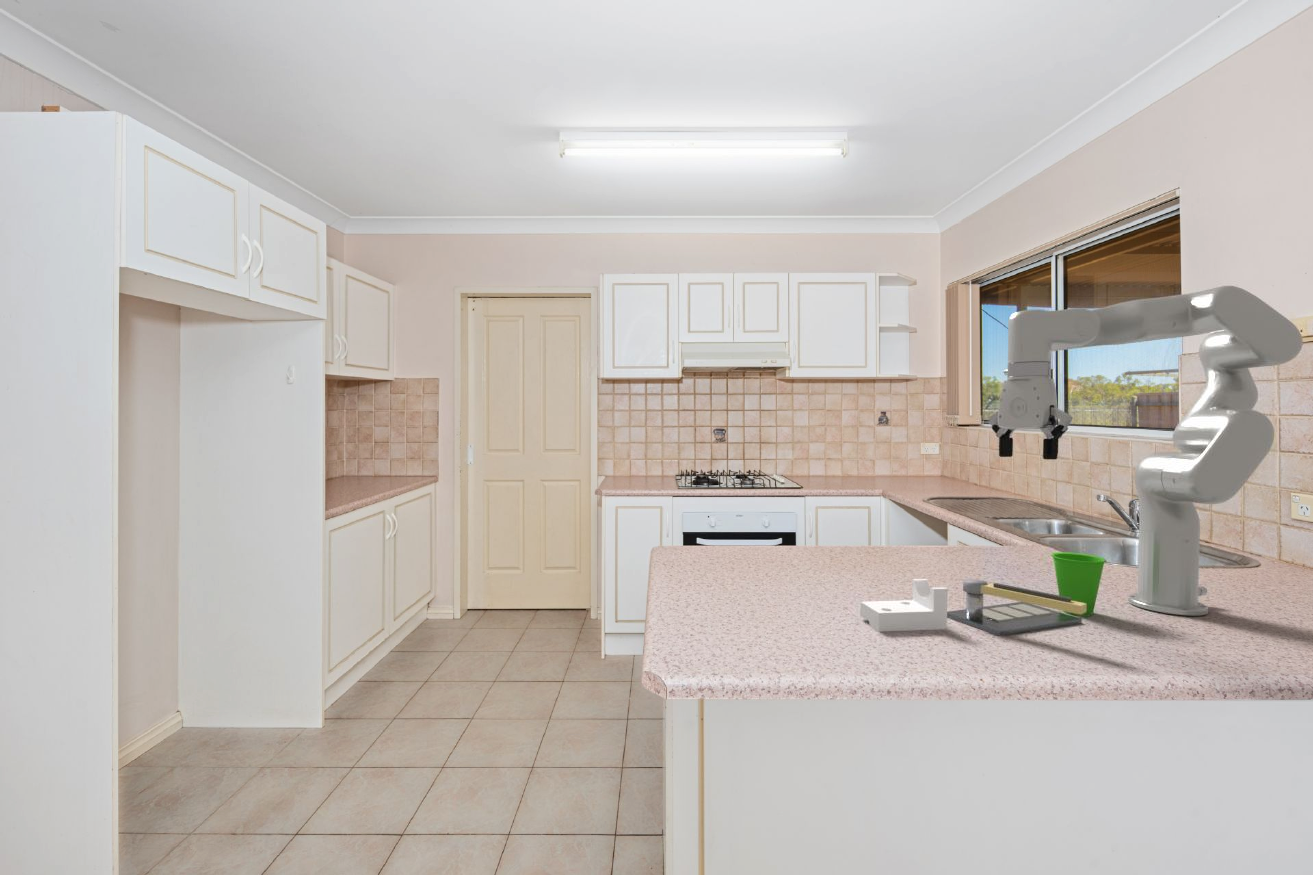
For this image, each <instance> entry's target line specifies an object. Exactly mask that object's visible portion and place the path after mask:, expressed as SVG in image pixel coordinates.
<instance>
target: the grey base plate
mask: <svg viewBox="0 0 1313 875" xmlns="http://www.w3.org/2000/svg"><path fill="white" fill-rule="evenodd" d="M965 593H966V601H965V604H966V605H965V606H966V607H965V608H964V609H959V610H958V609H957V610H950V611H949V610H947V619H948V618H949V619H952V620H954V621H957V622H960V623H962V624H966V625H969V626H970V627H974V628H977V629H979V630H982V631H985V632H987V633H990V634H992V635H996V636H998V637H999V636H1000V637H1002V636H1008V635H1009V636H1010V635H1015V634H1021V633H1027V632H1033V631H1034V632H1035V631H1039V630H1041V631H1042V630H1046V629H1052V628H1053V629H1054V628H1059V627H1065V626H1071V625H1078V624H1082V620H1083V619H1082V618H1081V617H1077V616H1075V615H1071V614H1068V613H1065V612H1060V611H1056V610H1054V609H1051V608H1048V607H1043V606H1039V605H1034V604H1029V603H1025V602H1020V601H1016V602H1011V603H1004V604H1003V603H1002V604H995V605H987V606H984V594H973V593H968V592H965Z"/></svg>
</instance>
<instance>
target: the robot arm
mask: <svg viewBox="0 0 1313 875" xmlns="http://www.w3.org/2000/svg"><path fill="white" fill-rule="evenodd" d="M1007 325H1008V326H1007V327H1008V330H1007V331H1008V332H1007V333H1008V334H1007V335H1008V336H1007V368H1005V369H1004V370H1003V374H1004V376H1006V377H1007V380H1003V383H1002V385H1001V388H1000V389H1001V390H1000V394H999V400H998V401H999V402H998V411H996V412H995V413H993V414H992V415H989V417H988V421H989V423H990V426H991V429H992V431H993V432H994V433H995V436H996V438H998V456H999V457H1000V458H1010V457H1011V458H1012V457H1013V455H1014V449H1013V448H1014V446H1013V445H1014V438H1013V437H1011V436H1012V434H1013V433H1015V431H1016V430H1018V429H1020V430H1021V429H1022V430H1027V429H1029V430H1040V431H1041V432H1042V433H1043V434H1044V436H1045V437H1046V438H1043V439H1042V441H1043V442H1042V446H1043V447H1042V459H1044V460H1047V461H1049V460H1057V459H1058V455H1059V440H1060V439H1062V438H1063V435H1064V434H1065V433H1066V432H1067V431H1068V430H1069V428H1068V427H1069V426H1070V425H1071V422H1072V420H1073V416H1072V415H1071V414H1069V413H1067V412H1065V411H1063V410H1061V409H1059V408H1058V399H1057V398H1058V397H1057V394H1058V393H1057V389H1056V385H1055V384H1056V383H1055V381H1054V380H1055V379H1054V378H1052V352H1057V351H1064V350H1065V351H1066V350H1073V349H1082V348H1090V347H1100V346H1115V345H1116V346H1118V345H1125V344H1126V345H1127V344H1128V345H1129V344H1134V343H1144V342H1149V341H1150V342H1151V341H1157V340H1166V339H1168V340H1169V339H1176V338H1184V337H1185V338H1186V337H1192V336H1193V337H1194V336H1199V335H1204V334H1208V335H1207V336H1206V337H1204V338H1203V339H1202V341H1201V343H1200V345H1199V349H1198V357H1199V360H1200V363H1201V365H1202V368H1203V371H1204V376H1205V386H1204V388H1203V390H1202V391H1201V393H1200V395H1199V397H1197V399H1195V401H1194V403H1193V404H1192V405H1191V407H1190V408H1189V409H1188V410H1187V412H1186V413H1185V415H1183V416H1182V418H1181V419H1180V421H1179V422H1178V424H1177V425H1176V427H1175V429H1174V431H1173V433H1172V442H1173V445H1174V446H1175V448H1177V449H1178V450H1179V451H1181V452H1178V451H1177V452H1176V451H1160V452H1154V453H1151V454H1148V455H1146V456H1144V457H1143V458H1141V460H1139V461H1138V462H1137V464H1136V467H1135V470H1134V485H1135V489H1136V493H1137V499H1138V508H1139V510H1138V511H1139V520H1138V522H1139V528H1138V560H1137V561H1138V563H1137V565H1138V566H1137V567H1138V568H1137V593H1132V594H1131V593H1130V594H1129V595H1128V597H1127V598H1128V599H1127V601H1128V603H1130V604H1131V605H1132V606H1135V607H1138V608H1141V609H1144V610H1149V611H1153V612H1157V613H1162V614H1170V615H1177V616H1178V615H1179V616H1190V617H1191V616H1193V617H1195V616H1204V615H1207V614H1208V613H1209V607H1208V606H1207V605H1206V604H1204V603H1202V602H1199V597H1201V596H1206V595H1207V594H1208V590H1207V588H1206V587H1205V586H1203V585H1199V576H1200V575H1199V574H1200V570H1199V569H1200V539H1201V538H1200V535H1201V523H1200V517H1199V513H1198V511H1197V509H1196V507H1195V504H1203V505H1217V504H1219V505H1220V504H1222V503H1225V502H1228V501H1229V500H1230V499H1232V498H1233V497H1235V495H1237V494H1238V492H1240V490H1241V489H1242V488H1243V486H1244V485H1245V484H1246V483H1247V482H1248V480H1249V479H1250V478H1251V476H1252V475H1253V473H1255V471H1256V469H1258V467H1259V466H1260V465H1261V463H1263V460H1264V459H1265V458H1266V456H1267V455H1268V454H1269V452H1270V450H1271V449H1272V447H1273V443H1274V439H1275V428H1274V425H1273V423H1272V421H1271V419H1270V418H1268V416H1267V415H1266V414H1264V413H1263V412H1260V411H1257V410H1254V407H1255V406H1256V404H1257V403H1258V399H1259V391H1258V387H1257V384H1256V382H1255V381H1254V379H1253V376H1252V374H1251V371H1250V369H1251V368H1260V367H1261V368H1263V367H1272V366H1273V367H1274V366H1280V365H1284V364H1287V363H1288V362H1291V361H1292V360H1294V359H1295V358H1296V357H1297V356H1298V355H1299V354H1300V353H1301V350H1302V348H1303V337H1302V334H1301V331H1300V330H1299V329H1298V327H1297V326H1296V324H1294V323H1293V322H1292V321H1291V320H1289V319H1288V318H1287V317H1286V316H1284V315H1283V314H1282V313H1280V312H1279V311H1278V310H1275V309H1274V308H1273V307H1272V306H1270V305H1269V304H1268V303H1266V302H1265V301H1264V300H1263V299H1261V298H1259V297H1258V296H1256V295H1255V294H1253V293H1251V292H1250V291H1247V290H1246V289H1243V288H1241V287H1238V286H1235V285H1222V286H1217V287H1212V288H1209V289H1205V290H1201V291H1196V292H1192V293H1185V294H1177V295H1168V296H1160V297H1151V298H1150V297H1148V298H1141V299H1133V300H1129V301H1123V302H1119V303H1115V304H1112V305H1108V306H1104V307H1101V308H1096V309H1092V310H1090V309H1087V308H1082V307H1079V308H1078V307H1075V308H1067V309H1060V310H1058V309H1057V310H1045V309H1025V310H1019V311H1017V312H1013V313H1012V314H1011V315H1010V316H1009V319H1008V324H1007ZM1209 333H1210V334H1209ZM1058 419H1059V422H1058ZM1194 503H1195V504H1194Z"/></svg>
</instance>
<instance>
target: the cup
mask: <svg viewBox="0 0 1313 875" xmlns="http://www.w3.org/2000/svg"><path fill="white" fill-rule="evenodd" d="M1050 556H1051V557H1052V558H1053V566H1054V571H1055V577H1056V585H1057V591H1058V595H1059V596H1064V597H1069V598H1071V600H1072V601H1077V602H1081V603H1086V604H1087V608H1086V612H1085V613H1083V614H1081V615H1080V614H1076V613H1071V612H1067V611H1062V613H1064V614H1067V615H1071V616H1081V617H1089V616H1092V615H1093V613H1094V610H1095V606H1096V602H1097V596H1098V592H1099V587H1100V583H1101V579H1102V575H1103V569H1104V564H1105V563H1107V559H1106V558H1104V557H1101V556H1098V555H1094V554H1087V553H1081V552H1079V553H1078V552H1065V551H1063V552H1062V551H1061V552H1060V551H1059V552H1058V551H1057V552H1053V553H1051V554H1050Z"/></svg>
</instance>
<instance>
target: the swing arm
mask: <svg viewBox="0 0 1313 875" xmlns="http://www.w3.org/2000/svg"><path fill="white" fill-rule="evenodd" d="M962 591H963V592H965V593H967V592H968V593H973V594H983V595H989V596H992V597H993V596H994V597H998V598H1003V599H1007V600H1011V601H1016V602H1025V603H1029V604H1033V605H1036V606H1040V607H1043V608H1047V609H1052V610H1058V611H1062V612H1063V611H1067V612H1071V613H1076V614H1080V615H1081V614H1083V613H1085V612H1086V608H1087V604H1086V603H1081V602H1077V601H1072V600H1071V598H1069V597H1064V596H1059V594H1055V593H1054V594H1053V593H1049V592H1044V591H1038V590H1033V589H1030V588H1029V589H1028V588H1023V587H1018V586H1014V585H1008V584H1003V583H999V582H998V583H997V582H995V583H993V584H992V583H988V582H987V581H985V580H982V579H977V578H965V579H962Z"/></svg>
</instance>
